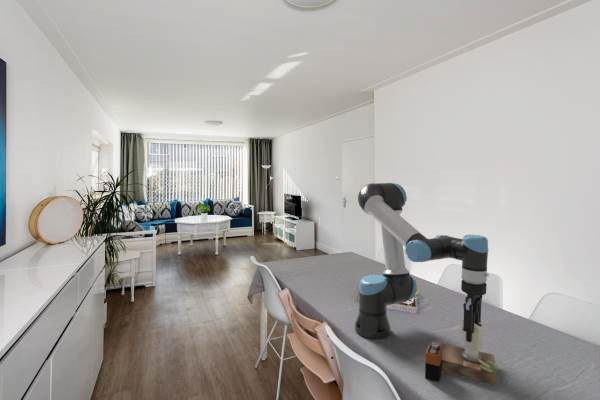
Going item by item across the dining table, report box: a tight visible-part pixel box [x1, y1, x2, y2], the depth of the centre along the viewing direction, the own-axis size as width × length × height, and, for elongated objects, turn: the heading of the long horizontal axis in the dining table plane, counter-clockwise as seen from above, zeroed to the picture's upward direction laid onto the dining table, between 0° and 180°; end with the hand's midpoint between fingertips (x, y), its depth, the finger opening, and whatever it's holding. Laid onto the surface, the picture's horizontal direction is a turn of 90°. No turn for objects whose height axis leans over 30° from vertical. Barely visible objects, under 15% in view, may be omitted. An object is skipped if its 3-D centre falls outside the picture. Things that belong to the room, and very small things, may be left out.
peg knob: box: [461, 319, 490, 368], centre depth 108 cm, size 6×10×12 cm, turn 16°
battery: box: [424, 342, 443, 383], centre depth 106 cm, size 4×7×10 cm, turn 149°
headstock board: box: [431, 341, 501, 386], centre depth 111 cm, size 21×13×4 cm, turn 62°
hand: (471, 346), depth 110 cm, fingers closed on peg knob, 4 cm apart
